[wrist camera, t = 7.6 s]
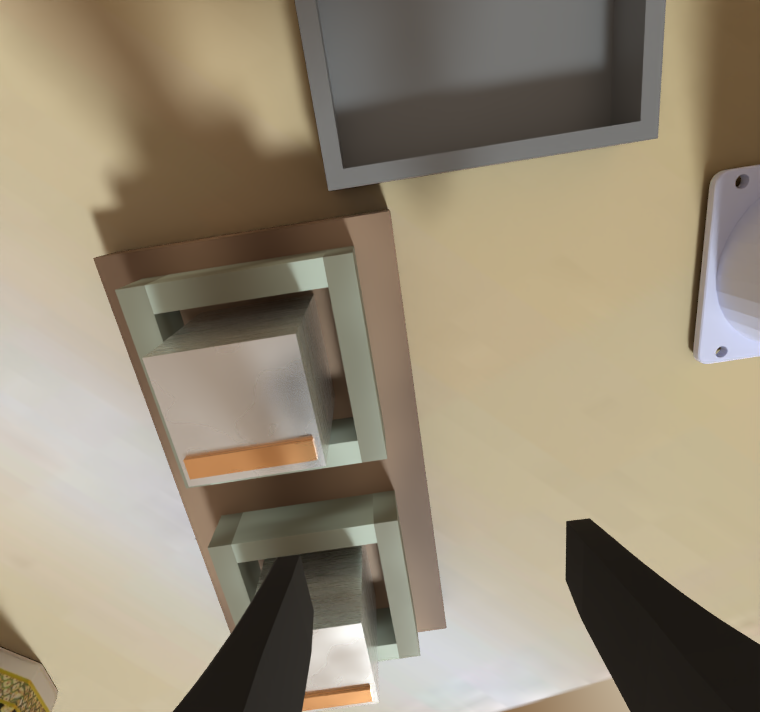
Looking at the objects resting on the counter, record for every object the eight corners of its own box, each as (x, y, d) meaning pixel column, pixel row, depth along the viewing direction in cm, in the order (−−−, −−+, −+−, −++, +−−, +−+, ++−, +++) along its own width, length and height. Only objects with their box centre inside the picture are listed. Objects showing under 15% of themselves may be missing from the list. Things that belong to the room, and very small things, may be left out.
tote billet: (313, 294, 17) (294, 335, 13) (335, 397, 19) (325, 468, 14) (201, 312, 18) (139, 359, 13) (231, 413, 19) (187, 489, 14)
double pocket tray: (388, 209, 18) (393, 214, 15) (441, 603, 25) (453, 665, 22) (114, 252, 18) (58, 266, 15) (246, 631, 25) (229, 696, 22)
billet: (361, 527, 21) (361, 626, 17) (376, 597, 23) (379, 706, 18) (269, 540, 21) (242, 643, 17) (289, 609, 23) (270, 721, 18)
